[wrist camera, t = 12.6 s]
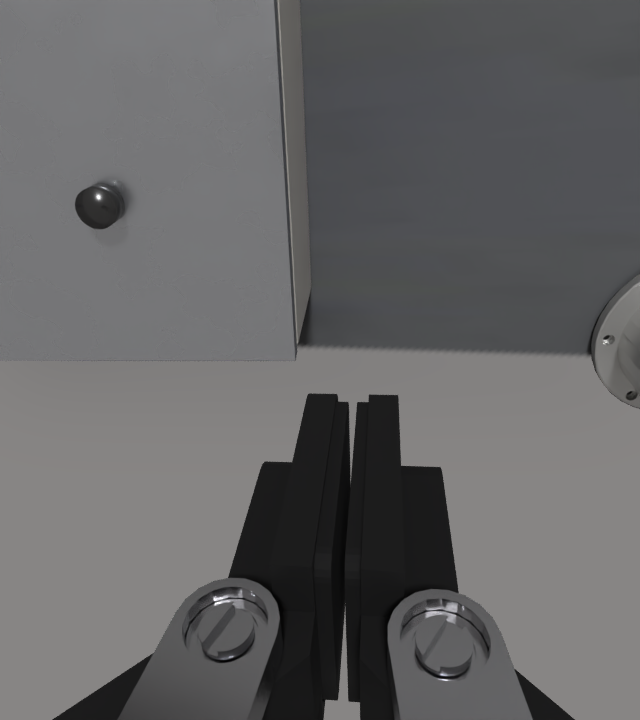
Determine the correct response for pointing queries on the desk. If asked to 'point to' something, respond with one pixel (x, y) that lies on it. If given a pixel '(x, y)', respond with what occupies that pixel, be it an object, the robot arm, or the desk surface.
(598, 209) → the desk surface
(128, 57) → the lid
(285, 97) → the white open box
